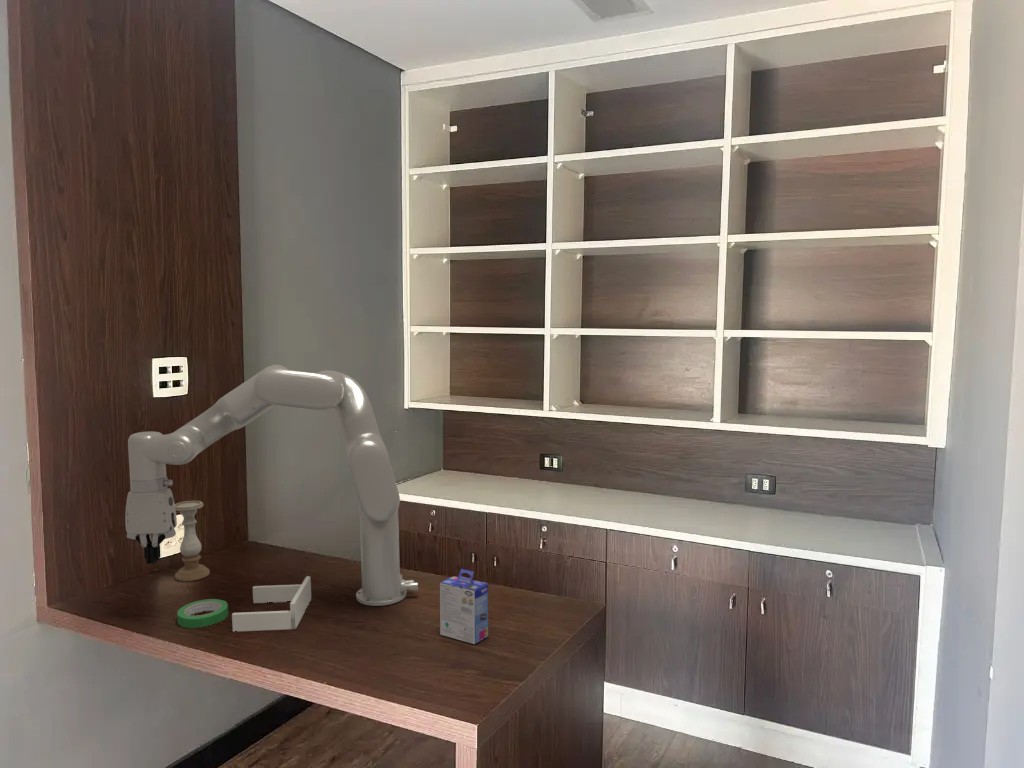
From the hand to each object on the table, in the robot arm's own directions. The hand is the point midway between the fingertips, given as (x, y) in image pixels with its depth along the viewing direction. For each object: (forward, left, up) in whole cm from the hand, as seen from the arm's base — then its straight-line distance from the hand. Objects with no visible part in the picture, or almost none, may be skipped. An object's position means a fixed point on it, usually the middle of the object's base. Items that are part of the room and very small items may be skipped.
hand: (152, 561), depth 168 cm
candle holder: (+2, -29, -14) cm, 32 cm away
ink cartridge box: (-73, +15, -14) cm, 76 cm away
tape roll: (-11, 0, -15) cm, 18 cm away
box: (-27, 0, -14) cm, 30 cm away
